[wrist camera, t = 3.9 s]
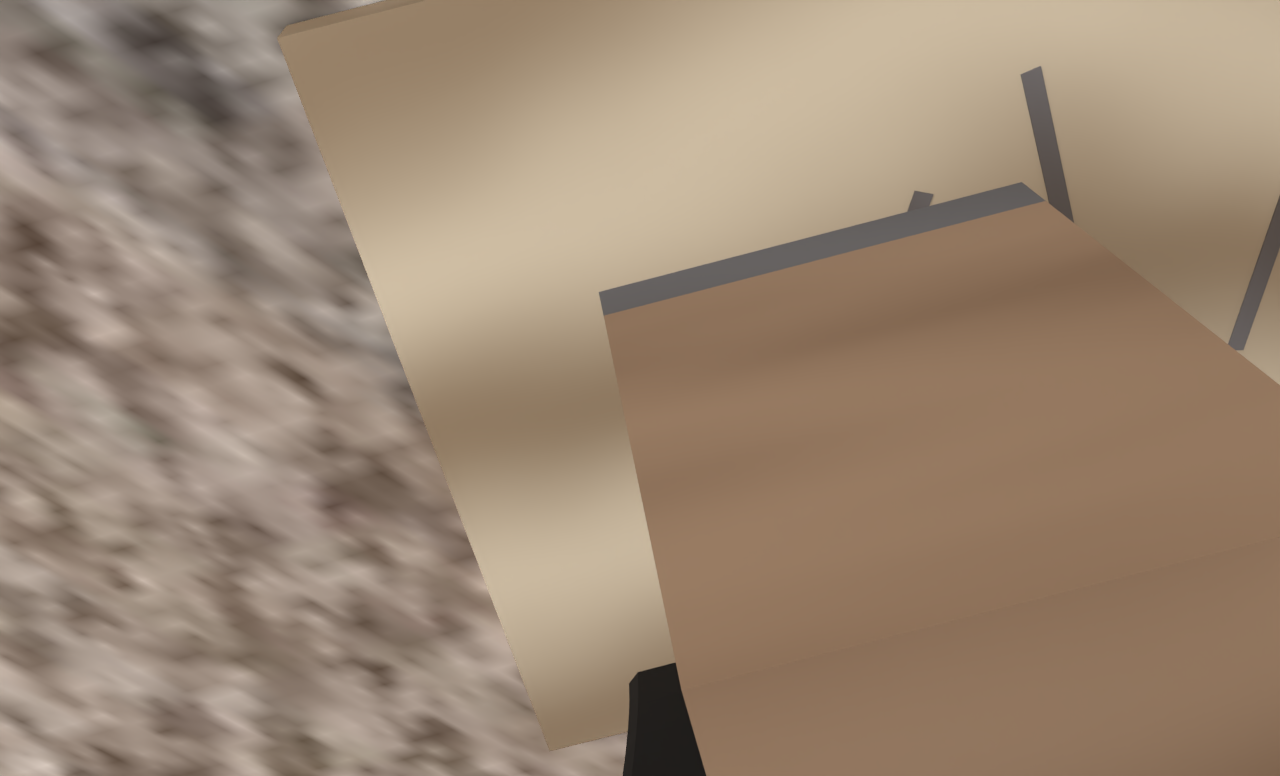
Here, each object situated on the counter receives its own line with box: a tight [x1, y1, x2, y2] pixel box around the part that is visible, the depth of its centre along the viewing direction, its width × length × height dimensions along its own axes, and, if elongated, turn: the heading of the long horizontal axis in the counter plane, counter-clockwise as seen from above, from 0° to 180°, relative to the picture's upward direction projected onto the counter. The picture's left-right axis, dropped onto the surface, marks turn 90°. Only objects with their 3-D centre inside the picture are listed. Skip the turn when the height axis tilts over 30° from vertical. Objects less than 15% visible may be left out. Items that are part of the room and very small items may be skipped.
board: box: [277, 0, 1280, 751], centre depth 18 cm, size 14×24×1 cm, turn 102°
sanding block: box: [599, 182, 1280, 776], centre depth 10 cm, size 8×4×5 cm, turn 13°
